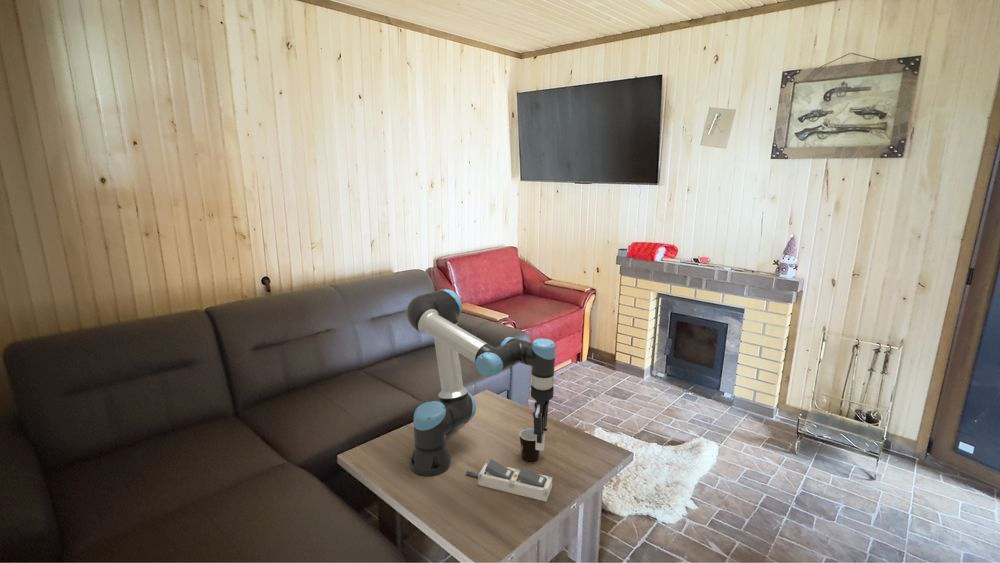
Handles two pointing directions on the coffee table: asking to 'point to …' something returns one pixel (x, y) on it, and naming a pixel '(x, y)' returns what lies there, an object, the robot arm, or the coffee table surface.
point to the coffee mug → (528, 445)
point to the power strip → (513, 484)
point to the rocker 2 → (531, 478)
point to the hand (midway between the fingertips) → (539, 449)
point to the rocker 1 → (498, 470)
